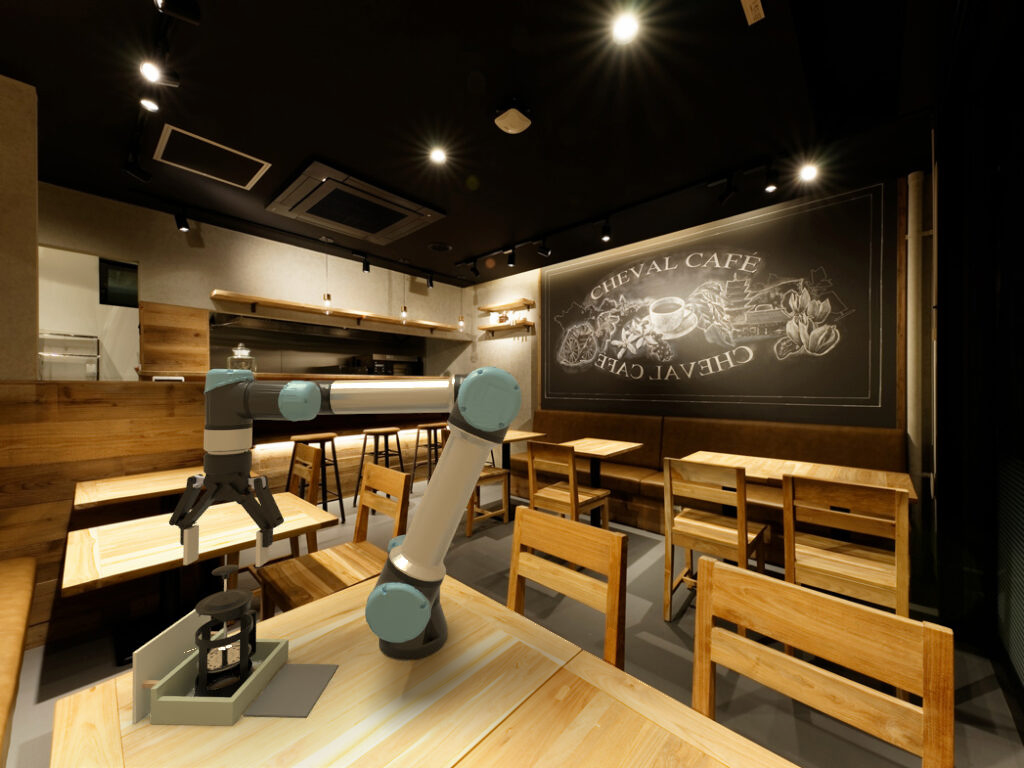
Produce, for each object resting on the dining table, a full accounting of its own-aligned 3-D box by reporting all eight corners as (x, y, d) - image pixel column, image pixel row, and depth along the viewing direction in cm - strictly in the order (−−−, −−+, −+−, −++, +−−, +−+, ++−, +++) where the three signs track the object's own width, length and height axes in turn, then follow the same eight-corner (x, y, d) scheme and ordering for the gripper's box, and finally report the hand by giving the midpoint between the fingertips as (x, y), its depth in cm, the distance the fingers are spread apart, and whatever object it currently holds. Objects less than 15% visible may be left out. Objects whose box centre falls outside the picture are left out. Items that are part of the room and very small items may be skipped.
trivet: (338, 666, 84) (338, 664, 84) (306, 717, 71) (306, 716, 71) (285, 664, 84) (285, 663, 84) (243, 716, 71) (243, 714, 71)
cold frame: (288, 658, 86) (288, 601, 86) (232, 725, 70) (233, 655, 69) (207, 656, 87) (208, 599, 87) (132, 723, 70) (132, 652, 70)
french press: (219, 716, 71) (220, 584, 71) (175, 707, 73) (176, 578, 73) (272, 670, 83) (273, 556, 83) (233, 663, 85) (234, 551, 85)
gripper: (304, 449, 81) (302, 556, 82) (179, 446, 82) (177, 552, 82) (282, 455, 74) (280, 573, 74) (145, 452, 74) (143, 570, 74)
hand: (226, 563), depth 78 cm, fingers open, 13 cm apart
